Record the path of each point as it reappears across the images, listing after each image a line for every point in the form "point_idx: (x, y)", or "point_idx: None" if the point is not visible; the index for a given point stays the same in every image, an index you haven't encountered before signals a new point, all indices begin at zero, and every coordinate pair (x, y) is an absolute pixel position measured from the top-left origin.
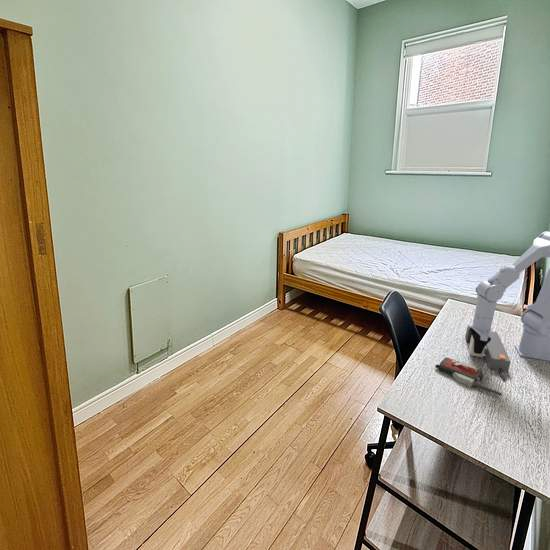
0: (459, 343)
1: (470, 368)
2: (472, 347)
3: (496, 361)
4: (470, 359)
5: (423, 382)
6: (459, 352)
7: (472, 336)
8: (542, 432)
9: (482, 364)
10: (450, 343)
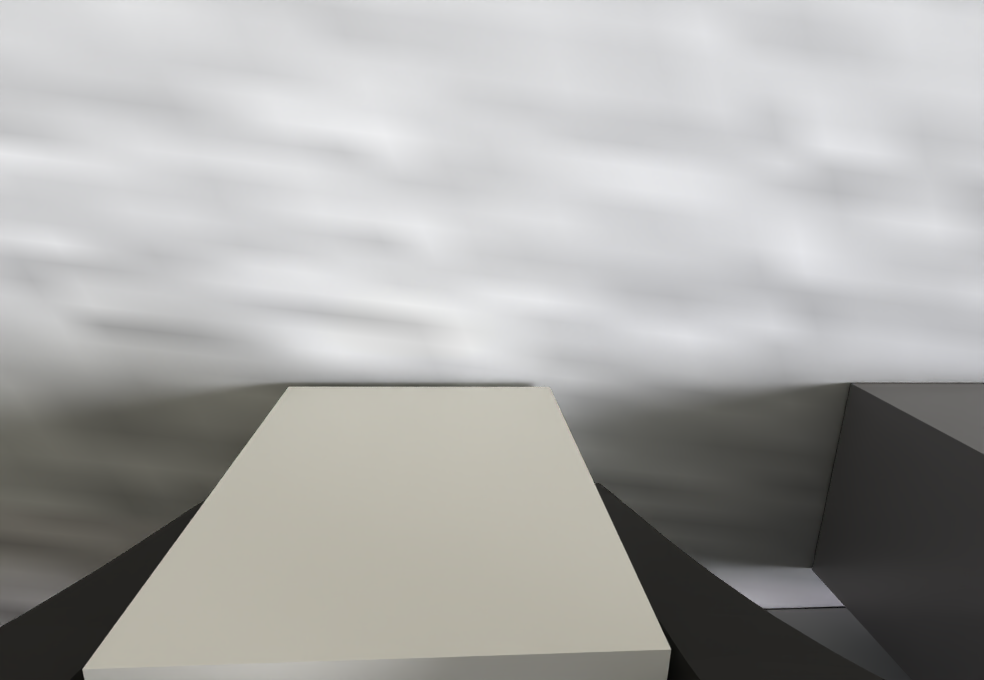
0: (792, 237)
1: None
2: (223, 498)
3: None
4: (124, 370)
5: None
6: (349, 182)
7: (550, 672)
8: None
9: (34, 551)
10: (746, 22)
